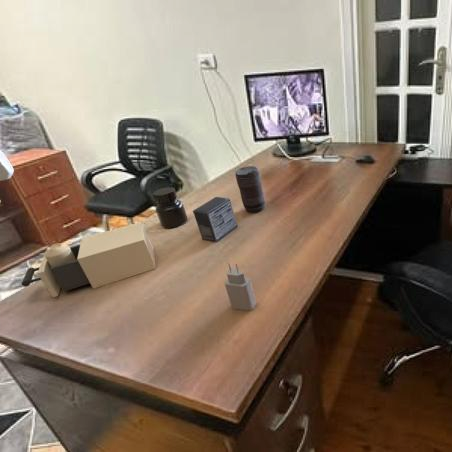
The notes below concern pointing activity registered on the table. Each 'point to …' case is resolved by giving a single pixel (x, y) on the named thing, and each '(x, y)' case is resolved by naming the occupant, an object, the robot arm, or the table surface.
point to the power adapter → (239, 290)
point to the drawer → (58, 275)
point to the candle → (59, 254)
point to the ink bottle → (169, 208)
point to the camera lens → (250, 188)
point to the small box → (215, 219)
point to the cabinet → (116, 254)
